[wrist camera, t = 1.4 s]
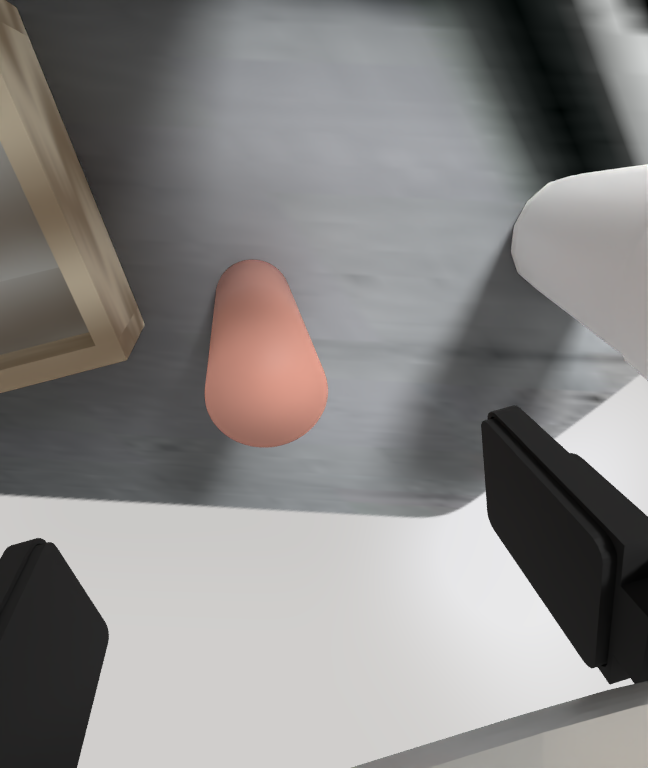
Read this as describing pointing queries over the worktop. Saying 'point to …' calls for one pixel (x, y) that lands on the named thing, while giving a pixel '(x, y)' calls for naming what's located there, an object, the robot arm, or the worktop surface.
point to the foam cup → (592, 254)
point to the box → (51, 238)
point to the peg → (261, 360)
